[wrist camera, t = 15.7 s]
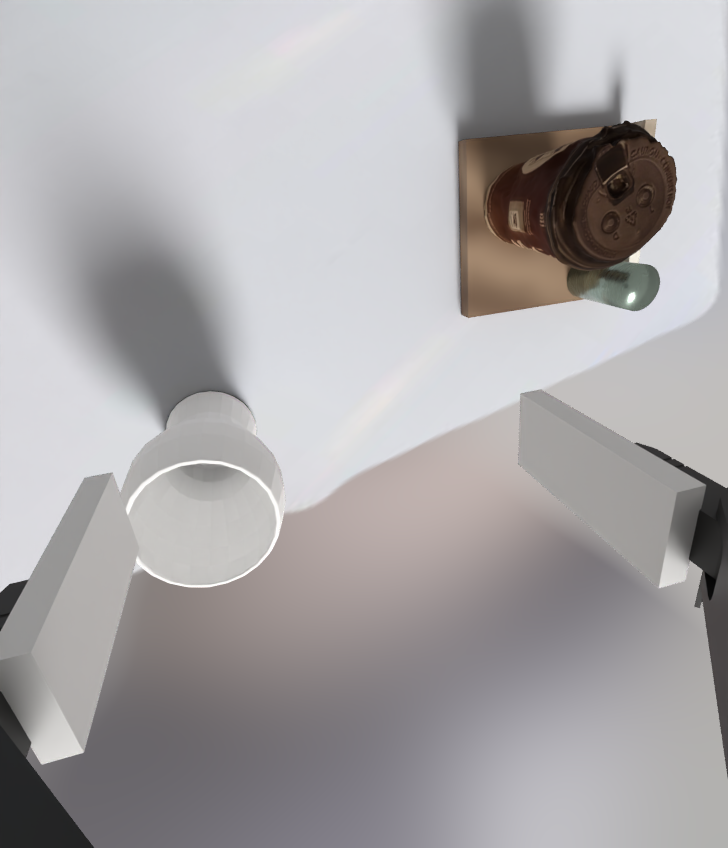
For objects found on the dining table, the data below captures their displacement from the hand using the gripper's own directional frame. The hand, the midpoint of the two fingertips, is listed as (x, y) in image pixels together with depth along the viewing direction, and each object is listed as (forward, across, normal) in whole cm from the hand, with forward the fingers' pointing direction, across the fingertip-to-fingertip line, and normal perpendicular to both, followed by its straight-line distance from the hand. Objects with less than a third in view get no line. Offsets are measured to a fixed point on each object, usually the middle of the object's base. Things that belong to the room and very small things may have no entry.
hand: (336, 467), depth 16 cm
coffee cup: (+27, +22, +6) cm, 35 cm away
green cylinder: (+27, +28, -1) cm, 39 cm away
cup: (+29, -7, -10) cm, 31 cm away
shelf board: (+29, +24, +4) cm, 38 cm away
